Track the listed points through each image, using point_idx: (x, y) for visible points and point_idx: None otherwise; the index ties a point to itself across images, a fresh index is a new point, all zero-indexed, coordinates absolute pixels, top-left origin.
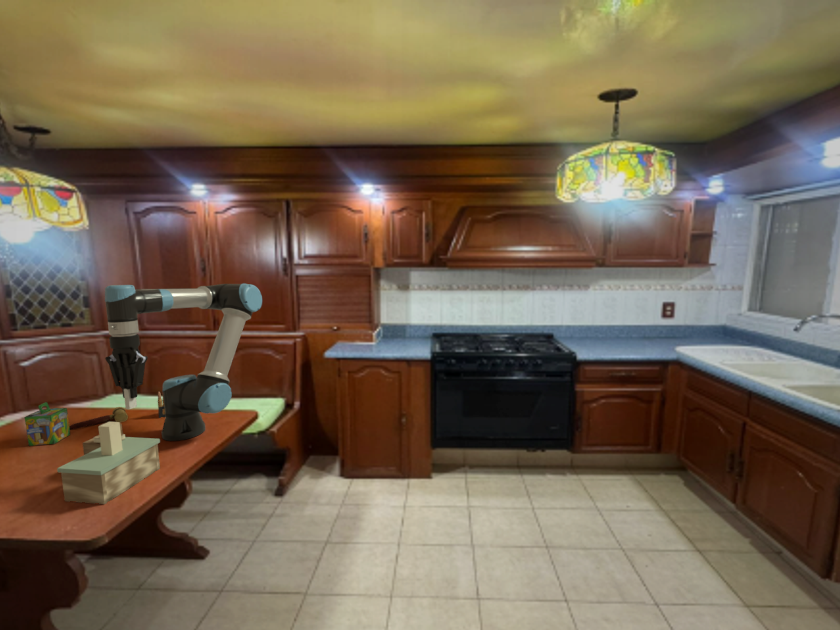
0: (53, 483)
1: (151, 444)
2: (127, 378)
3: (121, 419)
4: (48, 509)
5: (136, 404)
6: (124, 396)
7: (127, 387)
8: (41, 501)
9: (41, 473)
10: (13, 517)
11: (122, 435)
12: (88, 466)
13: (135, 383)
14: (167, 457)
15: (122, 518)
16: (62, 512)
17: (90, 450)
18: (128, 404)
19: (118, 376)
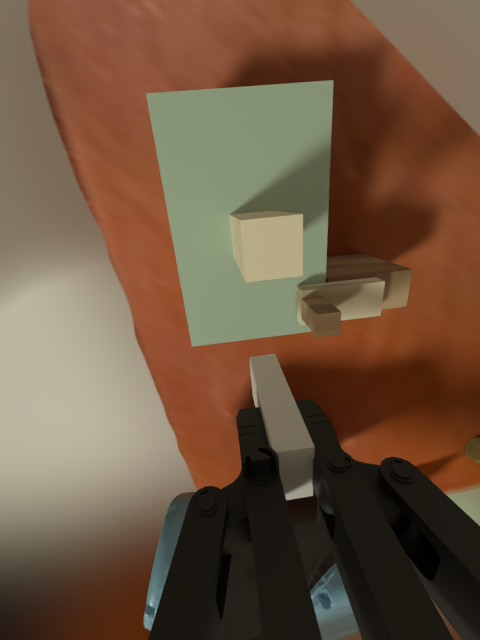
0: (395, 191)
1: (186, 314)
2: (300, 578)
3: (474, 445)
4: (295, 78)
5: (254, 400)
6: (293, 401)
7: (271, 465)
8: (349, 110)
9: (464, 224)
10: (350, 20)
11: (301, 316)
12: (230, 119)
13: (193, 527)
14: (230, 351)
15: (54, 82)
16: (244, 73)
17: (373, 266)
18: (259, 372)
19: (456, 583)
